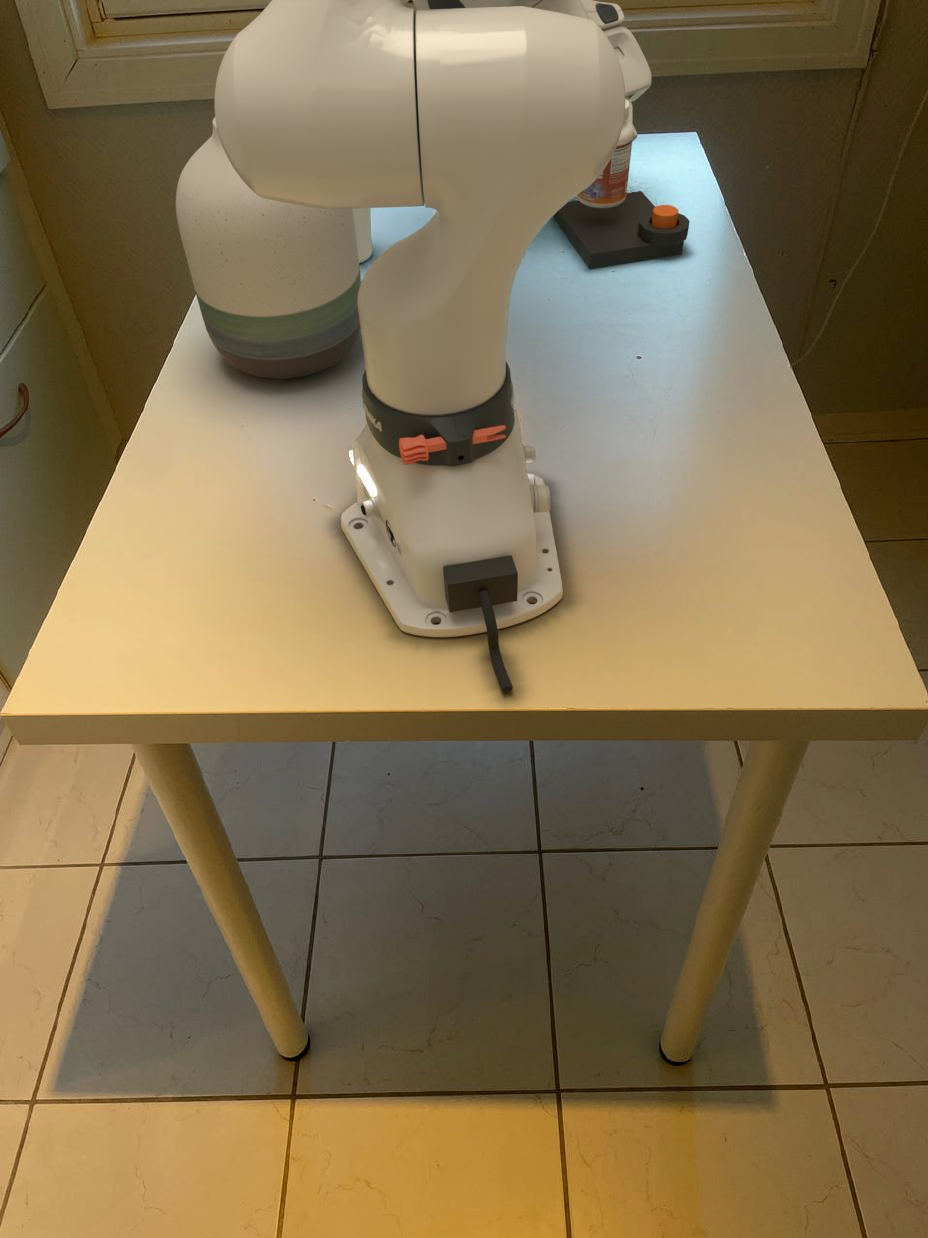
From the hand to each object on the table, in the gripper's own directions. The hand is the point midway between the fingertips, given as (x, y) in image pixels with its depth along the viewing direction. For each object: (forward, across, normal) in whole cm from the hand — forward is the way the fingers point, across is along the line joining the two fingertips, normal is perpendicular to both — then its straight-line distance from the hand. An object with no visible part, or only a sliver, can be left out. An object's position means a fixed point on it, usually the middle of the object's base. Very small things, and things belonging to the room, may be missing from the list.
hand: (609, 150), depth 111 cm
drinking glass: (-5, -27, +20) cm, 34 cm away
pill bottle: (+4, 0, +5) cm, 6 cm away
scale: (+8, 0, +6) cm, 10 cm away
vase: (+4, -44, +11) cm, 46 cm away
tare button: (+11, +2, -1) cm, 11 cm away
